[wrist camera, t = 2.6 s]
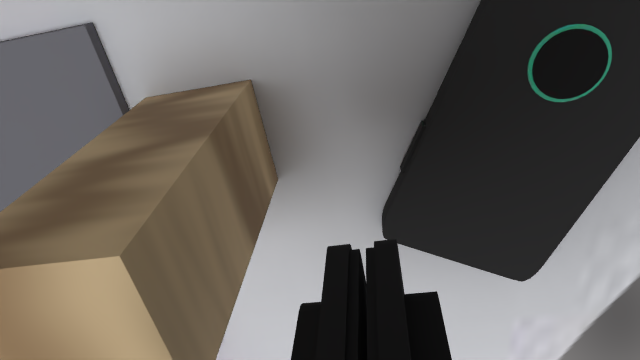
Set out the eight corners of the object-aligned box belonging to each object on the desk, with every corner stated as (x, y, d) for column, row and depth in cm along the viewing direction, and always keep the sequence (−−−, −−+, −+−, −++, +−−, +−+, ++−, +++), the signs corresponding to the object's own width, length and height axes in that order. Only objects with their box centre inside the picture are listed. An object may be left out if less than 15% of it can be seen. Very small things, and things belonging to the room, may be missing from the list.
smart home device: (921, -225, 12) (532, 287, 22) (861, -209, 14) (522, 264, 24) (649, -342, 12) (373, 237, 22) (617, -312, 13) (373, 217, 23)
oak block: (250, 79, 20) (120, 256, 9) (278, 179, 22) (198, 409, 12) (145, 97, 20) (-84, 277, 10) (182, 191, 23) (28, 416, 12)
